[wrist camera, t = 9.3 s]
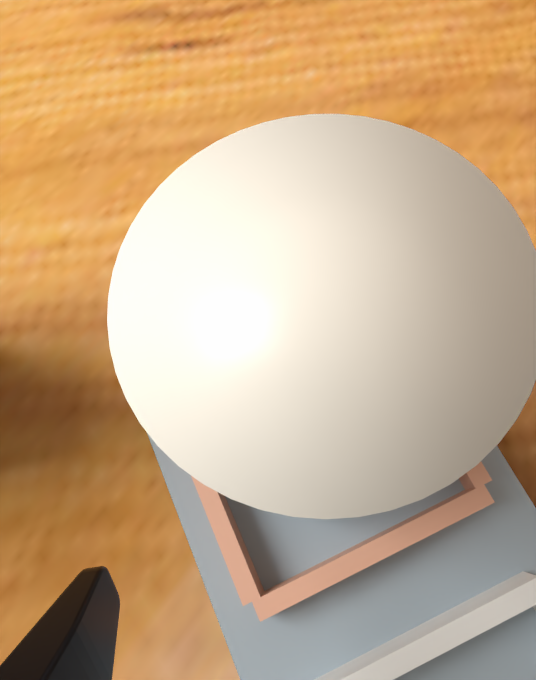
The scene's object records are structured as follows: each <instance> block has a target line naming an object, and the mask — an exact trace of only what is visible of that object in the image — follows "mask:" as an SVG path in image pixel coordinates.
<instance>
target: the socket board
mask: <svg viewBox="0 0 536 680" xmlns="http://www.w3.org/2000/svg"><path fill="white" fill-rule="evenodd" d="M147 434H148V433H147ZM148 437H149V440H150V442H151V445H152V448H153V450H154V453H155V455H156V458H157V461H158V463H159V466H160V469H161V471H162V474H163V477H164V479H165V482H166V484H167V487H168V490H169V492H170V495H171V498H172V500H173V503H174V506H175V508H176V511H177V514H178V516H179V519H180V521H181V524H182V527H183V529H184V532H185V535H186V537H187V540H188V543H189V545H190V548H191V550H192V553H193V556H194V558H195V561H196V564H197V566H198V569H199V572H200V574H201V577H202V579H203V582H204V585H205V587H206V590H207V593H208V595H209V598H210V601H211V603H212V606H213V608H214V611H215V614H216V616H217V619H218V622H219V624H220V627H221V630H222V632H223V635H224V637H225V640H226V643H227V645H228V648H229V651H230V653H231V656H232V659H233V661H234V664H235V666H236V669H237V672H238V674H239V677H240V680H536V508H535V506H534V504H533V503H532V501H531V500H530V498H529V496H528V495H527V493H526V491H525V490H524V488H523V487H522V485H521V483H520V482H519V480H518V479H517V477H516V475H515V474H514V472H513V471H512V469H511V467H510V466H509V464H508V462H507V461H506V459H505V458H504V456H503V454H502V453H501V451H500V450H499V448H498V446H496V447H495V448H494V449H493V450H492V451H491V452H490V453H489V454H488V455H487V456H486V457H485V458H484V459H483V460H482V461H481V462H479V463H478V464H477V465H476V466H475V467H474V468H472V469H471V470H470V471H468V472H467V473H465V474H464V475H463V476H461V477H460V478H459V479H457V480H456V481H455V482H453V483H452V484H450V485H448V486H447V487H445V488H443V489H441V490H439V491H437V492H435V493H433V494H431V495H430V496H428V497H426V498H424V499H422V500H419V501H416V502H414V503H411V504H408V505H405V506H402V507H400V508H397V509H394V510H391V511H386V512H382V513H377V514H372V515H367V516H362V517H354V518H339V519H314V518H301V517H291V516H286V515H282V514H277V513H272V512H268V511H263V510H259V509H257V508H254V507H251V506H249V505H246V504H243V503H240V502H238V501H235V500H232V499H230V498H228V497H226V496H224V495H222V494H220V493H219V492H217V491H215V490H213V489H211V488H209V487H207V486H205V485H204V484H202V483H201V482H199V481H198V480H197V479H195V478H194V477H193V476H191V475H190V474H188V473H187V472H186V471H184V470H183V469H181V468H180V467H179V466H178V465H177V464H176V463H175V462H174V461H173V460H172V459H170V458H169V457H168V456H167V455H166V454H165V453H164V452H163V451H162V450H161V449H160V448H159V447H158V446H157V445H156V443H155V442H154V441H153V440H152V438H151V437H150V436H149V434H148Z"/></svg>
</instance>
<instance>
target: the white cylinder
mask: <svg viewBox="0 0 536 680" xmlns="http://www.w3.org/2000/svg"><path fill="white" fill-rule="evenodd" d="M107 325H108V335H109V346H110V351H111V355H112V359H113V364H114V368H115V372H116V375H117V378H118V380H119V383H120V385H121V388H122V390H123V393H124V395H125V398H126V400H127V402H128V403H129V405H130V407H131V409H132V410H133V412H134V414H135V416H136V417H137V419H138V421H139V423H140V424H141V425H142V427H143V428H144V429H145V431H146V432H147V433H148V434H149V436H150V437H151V438H152V440H153V441H154V442H155V443H156V445H157V446H158V447H159V448H160V449H161V450H162V451H163V452H164V453H165V454H166V455H167V456H168V457H169V458H170V459H172V460H173V461H174V462H175V463H176V464H177V465H178V466H179V467H180V468H181V469H183V470H184V471H186V472H187V473H188V474H190V475H191V476H193V477H194V478H195V479H197V480H198V481H199V482H201V483H202V484H204V485H205V486H207V487H209V488H211V489H213V490H215V491H217V492H219V493H220V494H222V495H224V496H226V497H228V498H230V499H232V500H235V501H238V502H240V503H243V504H246V505H249V506H251V507H254V508H257V509H259V510H263V511H268V512H272V513H277V514H282V515H286V516H291V517H301V518H314V519H339V518H354V517H362V516H367V515H372V514H377V513H382V512H386V511H391V510H394V509H397V508H400V507H402V506H405V505H408V504H411V503H414V502H416V501H419V500H422V499H424V498H426V497H428V496H430V495H431V494H433V493H435V492H437V491H439V490H441V489H443V488H445V487H447V486H448V485H450V484H452V483H453V482H455V481H456V480H457V479H459V478H460V477H461V476H463V475H464V474H465V473H467V472H468V471H470V470H471V469H472V468H474V467H475V466H476V465H477V464H478V463H479V462H481V461H482V460H483V459H484V458H485V457H486V456H487V455H488V454H489V453H490V452H491V451H492V450H493V449H494V448H495V447H496V446H497V445H498V444H499V443H500V441H501V440H502V439H503V437H504V436H505V435H506V433H507V432H508V431H509V429H510V428H511V427H512V425H513V424H514V423H515V421H516V420H517V418H518V416H519V415H520V413H521V411H522V409H523V407H524V405H525V403H526V402H527V400H528V398H529V396H530V394H531V392H532V389H533V386H534V384H535V381H536V251H535V248H534V246H533V244H532V241H531V239H530V236H529V234H528V232H527V230H526V228H525V226H524V225H523V223H522V221H521V220H520V218H519V216H518V214H517V213H516V211H515V209H514V208H513V206H512V205H511V204H510V203H509V201H508V200H507V199H506V198H505V196H504V195H503V194H502V192H501V191H500V190H499V189H498V187H497V186H496V185H495V184H494V183H493V182H492V181H491V180H490V179H489V178H487V177H486V176H485V175H484V174H483V173H482V172H481V171H480V170H479V169H478V168H477V167H476V166H474V165H473V164H472V163H470V162H469V161H468V160H467V159H465V158H464V157H463V156H461V155H460V154H459V153H457V152H456V151H454V150H452V149H451V148H449V147H447V146H445V145H444V144H442V143H440V142H439V141H437V140H435V139H433V138H431V137H429V136H426V135H424V134H422V133H420V132H417V131H415V130H413V129H410V128H407V127H404V126H401V125H398V124H395V123H392V122H388V121H384V120H379V119H374V118H369V117H364V116H355V115H345V114H310V115H301V116H292V117H286V118H281V119H277V120H272V121H268V122H264V123H261V124H258V125H255V126H252V127H249V128H246V129H243V130H240V131H238V132H236V133H233V134H231V135H229V136H227V137H225V138H223V139H221V140H218V141H217V142H215V143H213V144H212V145H210V146H208V147H207V148H205V149H203V150H202V151H200V152H198V153H197V154H195V155H194V156H193V157H191V158H190V159H189V160H188V161H186V162H185V163H184V164H182V165H181V166H180V167H178V168H177V169H176V170H175V171H174V172H173V173H172V174H171V175H170V176H169V177H168V178H167V179H166V180H165V181H164V182H163V183H162V184H161V185H160V186H159V187H158V188H157V189H156V190H155V192H154V193H153V194H152V195H151V197H150V198H149V199H148V200H147V201H146V203H145V204H144V205H143V207H142V208H141V210H140V212H139V213H138V215H137V216H136V218H135V220H134V221H133V223H132V224H131V226H130V228H129V230H128V232H127V235H126V237H125V239H124V241H123V243H122V245H121V247H120V250H119V254H118V257H117V260H116V263H115V266H114V269H113V273H112V278H111V284H110V289H109V295H108V315H107Z"/></svg>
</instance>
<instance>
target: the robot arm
mask: <svg viewBox="0 0 536 680" xmlns="http://www.w3.org/2000/svg"><path fill="white" fill-rule="evenodd" d="M119 610H120V599H119V595H118V592H117V590H116V587H115V585H114V583H113V580H112V578H111V576H110V573H109V571H108V569H107V568H106V567H104V566H99V567H93V568H87V569H84V570H83V571H81V572H80V573H79V574H78V575H77V577H76V578H75V579H74V580H73V581H72V582H71V584H70V585H69V586H68V587H67V588H66V589H65V591H64V592H63V593H62V594H61V595H60V596H59V598H58V599H57V600H56V601H55V602H54V603H53V605H52V606H51V607H50V608H49V609H48V610H47V612H46V613H45V614H44V615H43V616H42V617H41V619H40V620H39V621H38V622H37V623H36V624H35V626H34V627H33V628H32V629H31V630H30V631H29V633H28V634H27V635H26V636H25V637H24V639H23V640H22V641H21V642H20V643H19V644H18V646H17V647H16V648H15V649H14V650H13V651H12V653H11V654H10V655H9V656H8V657H7V658H6V660H5V661H4V662H3V663H2V664H1V665H0V680H112V673H113V664H114V655H115V646H116V637H117V628H118V619H119Z"/></svg>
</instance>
